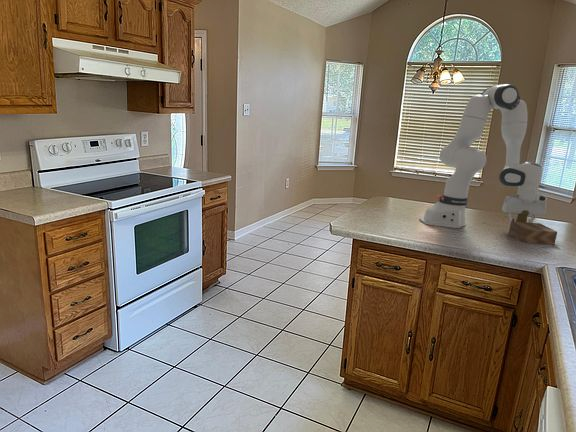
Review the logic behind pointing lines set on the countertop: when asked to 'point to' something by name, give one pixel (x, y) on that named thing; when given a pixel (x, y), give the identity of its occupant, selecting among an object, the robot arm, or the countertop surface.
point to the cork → (522, 216)
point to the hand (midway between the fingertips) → (520, 222)
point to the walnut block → (532, 232)
